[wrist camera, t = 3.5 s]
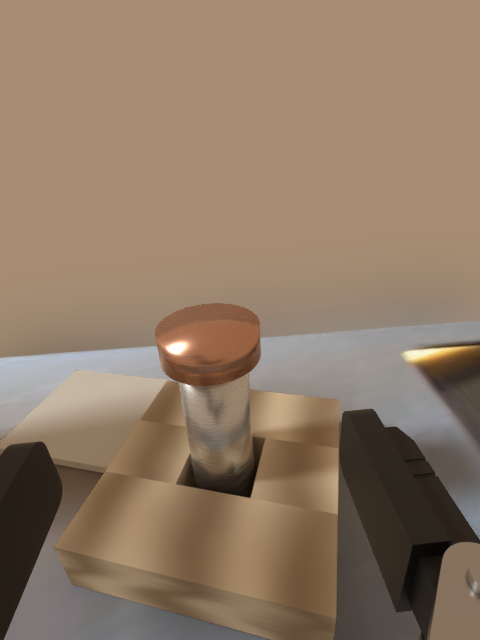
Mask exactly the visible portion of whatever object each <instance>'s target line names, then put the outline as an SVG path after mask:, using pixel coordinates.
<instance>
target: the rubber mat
mask: <svg viewBox="0 0 480 640" xmlns="http://www.w3.org/2000/svg"><path fill="white" fill-rule="evenodd" d="M166 381H170V380H163V379H153V378H144V377H135V376H126V375H117V374H108V373H99V372H90V371H81V370H76V371H75V372H74V373H73V374H72V375H71V376H69V377H68V378H67V379H66V380H65V381H64V382H63V383H62V384H61V385H60V386H59V387H58V388H57V389H56V390H54V391H53V392H52V393H51V394H50V395H49V396H48V397H47V398H46V399H45V400H44V401H43V402H42V403H40V404H39V405H38V406H37V407H36V408H35V409H34V410H33V411H32V412H31V413H30V414H29V415H28V416H26V417H25V418H24V419H23V420H22V421H21V422H20V423H19V424H18V425H17V426H16V427H15V428H14V429H12V430H11V431H10V432H9V433H8V434H7V435H6V436H5V437H4V438H3V439H2V440H1V441H0V454H2V453H3V451H4V450H5V449H6V447H8V446H9V445H11V444H20V443H29V442H40V441H41V442H43V443H44V444H45V445H46V447H47V449H48V451H49V454H50V456H51V458H52V461H53V463H54V464H56V465H62V466H67V467H73V468H78V469H83V470H89V471H94V472H99V473H104V472H105V471H106V469H107V468H108V466H109V465H110V463H111V462H112V460H113V459H114V458H115V456H116V455H117V453H118V452H119V450H120V449H121V447H122V446H123V444H124V443H125V441H126V440H127V438H128V437H129V436H130V434H131V433H132V431H133V430H134V428H135V427H136V425H137V424H138V422H139V421H140V419H141V418H142V416H143V415H144V414H145V412H146V411H147V409H148V408H149V406H150V405H151V403H152V402H153V400H154V399H155V397H156V396H157V394H158V393H159V392H160V390H161V389H162V387H163V386H164V384H165V383H166Z"/></svg>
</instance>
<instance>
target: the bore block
mask: <svg viewBox="0 0 480 640" xmlns="http://www.w3.org/2000/svg"><path fill="white" fill-rule="evenodd" d="M250 403H251V420H252V437H253V453H254V470H255V472H257V474H256V478H255V482H254V487H253V491H252V495H251V498H247V497H242V496H236V495H231V494H225V493H220V492H215V491H209V490H204V489H198V488H196V483H195V477H194V471H193V465H192V460H191V454H190V448H189V442H188V436H187V431H186V425H185V419H184V413H183V408H182V402H181V396H180V390H179V385H178V382H174V381H166V383H165V384H164V386H163V387H162V389H161V390H160V392H159V393H158V394H157V396H156V397H155V399H154V400H153V402H152V403H151V405H150V406H149V408H148V409H147V411H146V412H145V414H144V415H143V416H142V418H141V419H140V421H139V422H138V424H137V425H136V427H135V428H134V430H133V431H132V433H131V434H130V436H129V437H128V438H127V440H126V441H125V443H124V444H123V446H122V447H121V449H120V450H119V452H118V453H117V455H116V456H115V458H114V459H113V460H112V462H111V463H110V465H109V466H108V468H107V469H106V471H105V472H104V474H103V475H102V477H101V478H100V480H99V481H98V482H97V484H96V485H95V487H94V488H93V490H92V491H91V493H90V494H89V496H88V497H87V499H86V500H85V502H84V503H83V504H82V506H81V507H80V509H79V510H78V512H77V513H76V515H75V516H74V518H73V519H72V521H71V522H70V524H69V525H68V526H67V528H66V529H65V531H64V532H63V534H62V535H61V537H60V538H59V540H58V541H57V543H56V544H55V546H54V549H55V551H56V553H57V555H58V557H59V559H60V561H61V563H62V565H63V567H64V569H65V571H66V573H67V575H68V577H69V579H70V581H71V583H72V584H73V585H76V586H80V587H83V588H87V589H91V590H94V591H98V592H101V593H105V594H109V595H112V596H116V597H119V598H123V599H127V600H130V601H134V602H137V603H141V604H145V605H148V606H152V607H156V608H159V609H163V610H166V611H170V612H174V613H177V614H181V615H184V616H188V617H192V618H195V619H199V620H202V621H206V622H210V623H213V624H217V625H220V626H224V627H228V628H231V629H235V630H239V631H242V632H246V633H249V634H253V635H257V636H260V637H264V638H267V639H271V640H334V633H335V625H336V611H337V539H338V467H339V400H336V399H327V398H318V397H309V396H300V395H291V394H282V393H273V392H264V391H255V390H250Z"/></svg>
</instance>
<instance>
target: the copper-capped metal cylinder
mask: <svg viewBox="0 0 480 640" xmlns="http://www.w3.org/2000/svg"><path fill="white" fill-rule="evenodd" d="M259 323H260V322H259V319H258V317H257V316H256V315H255V314H254V313H253V312H252V311H250V310H248V309H246V308H244V307H240V306H236V305H231V304H220V303H215V304H202V305H196V306H192V307H188V308H184V309H182V310H179V311H176V312H174V313H173V314H171V315H169V316H167V317H166V318H165V319H163V320H162V321H161V322H160V323H159V324H158V326H157V328H156V331H155V337H156V341H157V347H158V352H159V357H160V362H161V367H162V369H163V371H164V372H165V374H166V375H167V376H169V377H170V378H172V379H173V380H175V381H178V385H179V390H180V396H181V402H182V408H183V413H184V419H185V425H186V431H187V436H188V442H189V448H190V454H191V460H192V465H193V471H194V477H195V483H196V488H198V489H204V490H209V491H215V492H220V493H225V494H231V495H236V496H242V497H247V498H251V495H252V491H253V487H254V482H255V470H254V453H253V437H252V420H251V403H250V387H249V372H250V371H251V370H252V369H253V368H254V367H255V366H256V365H257V364H258V362H259V360H260V356H261V347H260V324H259Z"/></svg>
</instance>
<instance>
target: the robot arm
mask: <svg viewBox="0 0 480 640" xmlns="http://www.w3.org/2000/svg"><path fill="white" fill-rule="evenodd" d="M340 462H341V467H342V471H343V475H344V478H345V480H346V483H347V485H348V488H349V490H350V493H351V496H352V498H353V501H354V503H355V506H356V509H357V511H358V514H359V516H360V519H361V522H362V524H363V527H364V529H365V532H366V534H367V537H368V540H369V542H370V545H371V547H372V550H373V553H374V555H375V558H376V560H377V563H378V565H379V568H380V571H381V573H382V576H383V578H384V581H385V584H386V586H387V589H388V591H389V594H390V597H391V599H392V602H393V604H394V607H395V609H396V612H403V611H412V610H413V613H414V615H415V617H416V620H417V622H418V624H419V627H420V629H421V630H420V633H419V639H418V640H480V540H479V538H478V537H477V536H476V534H475V533H474V531H473V530H472V528H471V527H470V525H469V524H468V522H467V521H466V519H465V517H464V516H463V514H462V513H461V511H460V510H459V508H458V507H457V505H456V504H455V502H454V501H453V499H452V498H451V496H450V495H449V493H448V492H447V490H446V489H445V487H444V486H443V484H442V483H441V481H440V480H439V478H438V477H436V476H435V472H434V471H433V469H432V468H431V466H430V465H429V463H428V462H426V460H425V457H424V455H423V454H422V452H421V451H420V449H419V448H418V446H417V445H416V443H415V442H414V440H412V439H411V438H410V437H409V436H407V435H406V434H405V433H404V432H402V431H401V430H400V429H399V428H397V427H387V428H385V427H384V425H383V424H382V422H381V420H380V419H379V417H378V415H377V414H376V412H375V411H374V410H373V409H363V410H354V411H345V412H344V413H343V416H342V428H341V441H340ZM61 497H62V483H61V479H60V477H59V475H58V472H57V470H56V468H55V465H54V463H53V461H52V458H51V456H50V454H49V451H48V449H47V447H46V445H45V444H44V443H43V442H41V441H40V442H29V443H20V444H11V445H9V446H8V447H6V449H5V450H4V451H3V453H2V454H1V456H0V640H4V638H5V635H6V633H7V630H8V628H9V625H10V623H11V621H12V618H13V616H14V613H15V611H16V609H17V606H18V604H19V601H20V599H21V597H22V594H23V592H24V589H25V587H26V585H27V582H28V580H29V577H30V575H31V573H32V570H33V568H34V565H35V563H36V561H37V558H38V556H39V553H40V551H41V548H42V546H43V544H44V541H45V539H46V536H47V534H48V532H49V529H50V527H51V524H52V522H53V520H54V517H55V515H56V512H57V510H58V508H59V505H60V502H61Z"/></svg>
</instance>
